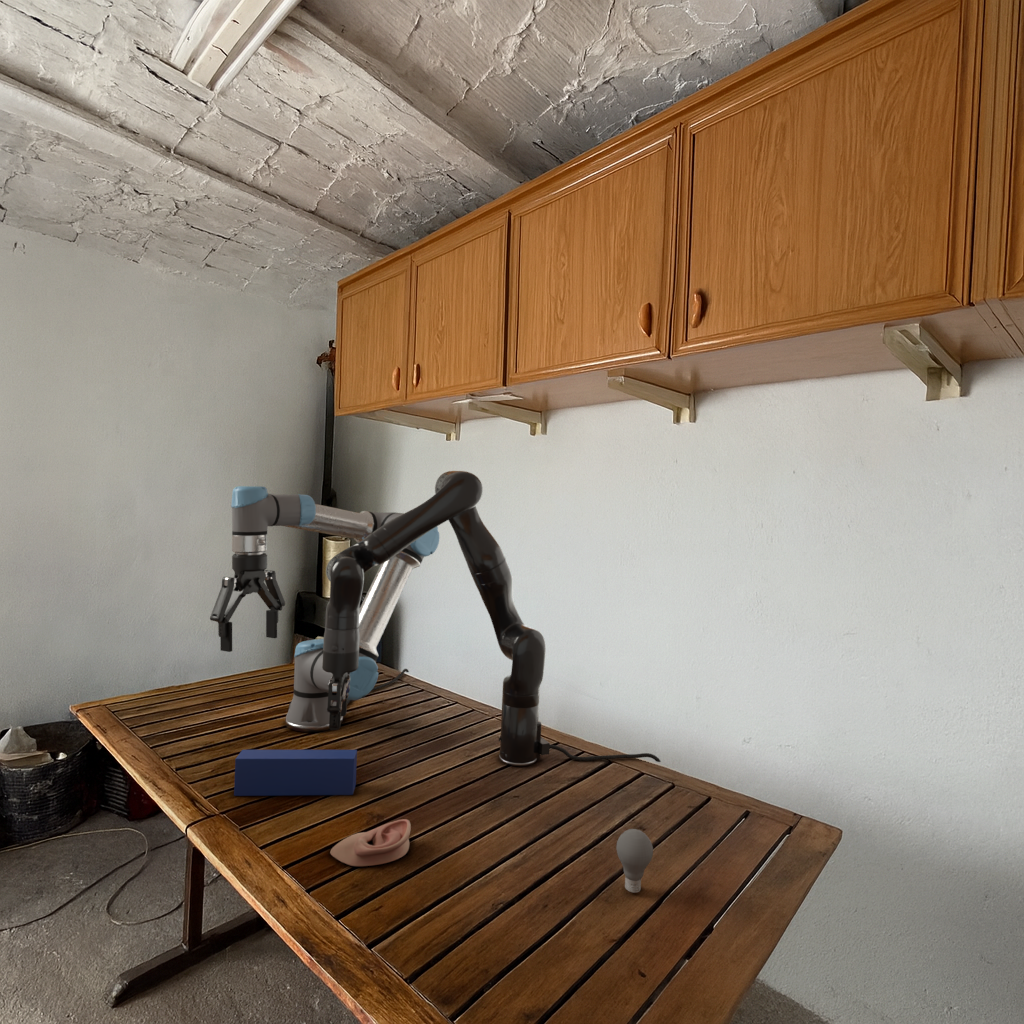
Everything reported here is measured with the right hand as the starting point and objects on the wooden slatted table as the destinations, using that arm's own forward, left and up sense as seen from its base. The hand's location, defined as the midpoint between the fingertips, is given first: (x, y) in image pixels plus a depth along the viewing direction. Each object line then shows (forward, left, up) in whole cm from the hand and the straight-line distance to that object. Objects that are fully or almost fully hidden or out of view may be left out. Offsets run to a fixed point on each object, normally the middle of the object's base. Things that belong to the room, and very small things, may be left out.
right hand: (337, 722), depth 137 cm
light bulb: (-38, +55, -15) cm, 68 cm away
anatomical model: (-1, +26, -15) cm, 30 cm away
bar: (+8, -3, -15) cm, 17 cm away
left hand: (+16, -20, +13) cm, 29 cm away
